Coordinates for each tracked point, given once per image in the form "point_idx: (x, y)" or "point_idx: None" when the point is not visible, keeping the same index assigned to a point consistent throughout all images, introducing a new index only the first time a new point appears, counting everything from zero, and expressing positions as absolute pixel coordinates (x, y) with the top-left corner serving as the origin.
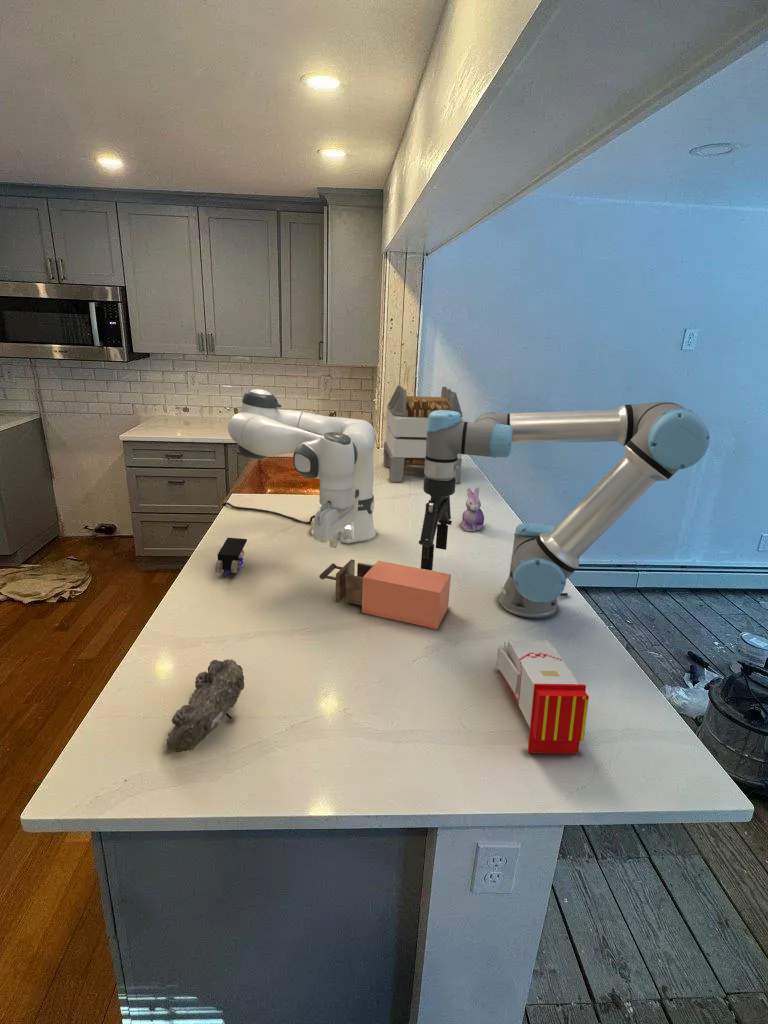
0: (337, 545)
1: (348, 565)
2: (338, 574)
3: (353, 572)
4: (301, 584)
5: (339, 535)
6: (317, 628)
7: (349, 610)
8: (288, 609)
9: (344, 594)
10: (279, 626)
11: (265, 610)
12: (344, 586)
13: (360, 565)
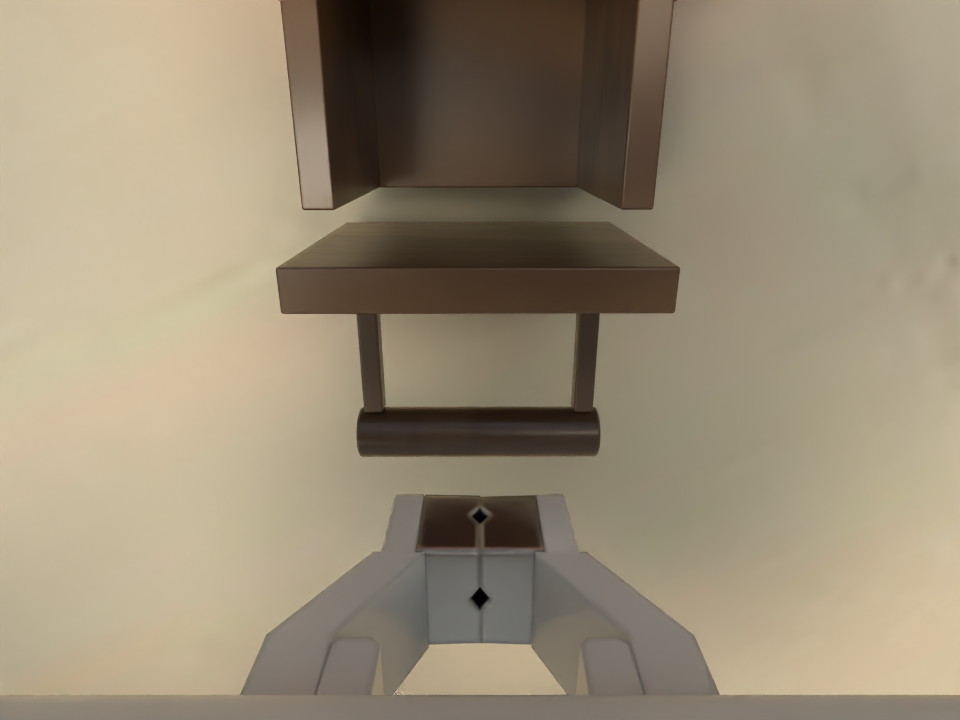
0: (533, 505)
1: (438, 276)
2: (677, 284)
3: (340, 244)
4: None
5: (385, 617)
6: (912, 229)
7: None
8: (737, 469)
9: (529, 225)
10: (927, 429)
11: (780, 559)
12: (538, 236)
13: (335, 169)
